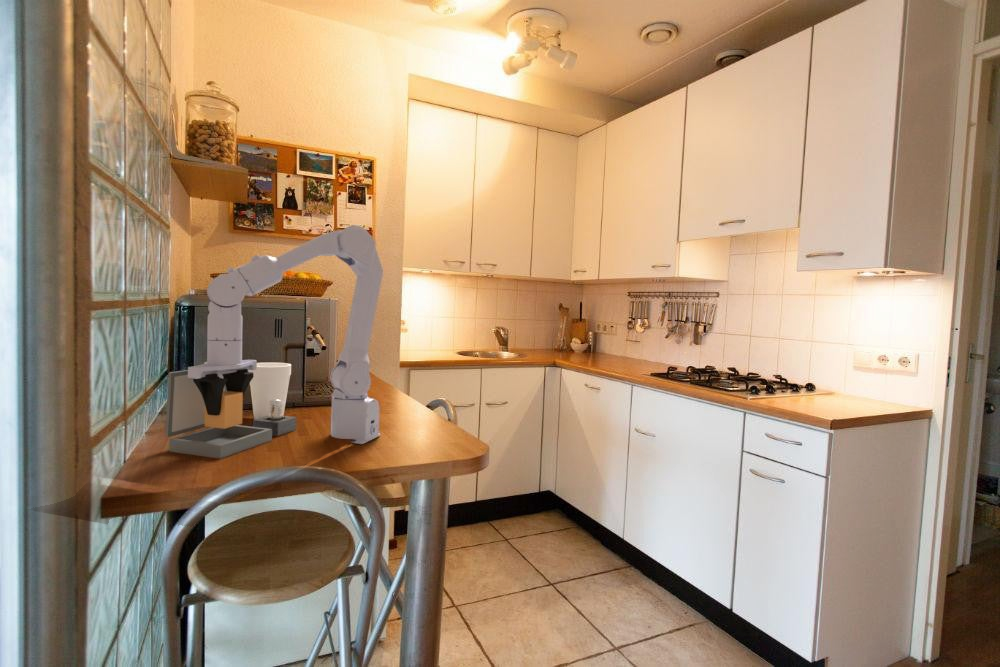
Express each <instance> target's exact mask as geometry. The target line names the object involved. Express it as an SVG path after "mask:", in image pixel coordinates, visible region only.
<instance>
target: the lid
mask: <svg viewBox="0 0 1000 667" xmlns="http://www.w3.org/2000/svg"><path fill="white" fill-rule="evenodd" d="M221 371H225V370H221ZM218 376H219V378H223V375H222V374H220V375H218ZM223 391H227V389H226V384H225V386H224V389H223ZM166 400H167V401H166V411H165V412H166V416H165V430H164V431H165V433H164V434H165V435H164V437H165V438H170V437H171V438H172V437H173V436H177V435H178V436H179V435H182V434H185V433H186V434H187V433H188V432H189V433H190V432H194V431H196V430H200V429H204V428H207V427H206V426H204V424H205V403H204V400H203V397H202V395H201V393H200V391H199V389H198V387H197V386H196V384H195V383H194V382H193V378H188V369H185V370H176V371H170V372H168V379H167V399H166Z"/></svg>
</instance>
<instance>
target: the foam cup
mask: <svg viewBox="0 0 1000 667" xmlns="http://www.w3.org/2000/svg"><path fill="white" fill-rule="evenodd" d="M247 372H253V373H254V375H253V378H252V380H251V381H250V383H249V386H250V394H251V396H250V397H251V402H252V403H251V404H252V413H253V420H255V419H259V418H262V417H266V416H269V411H270V400H271V399H282V416H285V415H284V414H285V408H286V404H287V403H286V402H287V396H288V390H289V384H290V378H291V375H292V364H291V363H287V362H257V369H256V370H247Z"/></svg>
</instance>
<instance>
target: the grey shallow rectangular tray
mask: <svg viewBox="0 0 1000 667" xmlns="http://www.w3.org/2000/svg"><path fill="white" fill-rule="evenodd" d="M168 441H169V442H168V444H169V445H168V452H170V453H177V454H184V455H186V454H187V455H191V456H192V455H193V456H199V457H206V458H212V459H213V458H214V459H221V460H222V459H224V458H226V457H228V456H229V457H230V456H232V455H235V454H237V453H240V452H243V451H246V450H249V449H252V448H254V447H258V446H260V445H263V444H266V443H268V442H272V441H273V436H272V429H267V428H258V427H253V426H250V425H249V426H248V425H242V424H239V425H236V426H232V427H229V428H225V429H223V428H214V427H208V428H205V429H204V428H203V429H201V430H198V431H192V432H191V433H190V432H189V433H186V434H183V435H182V434H181V435H178V436H175V437H173V438H172V437H171V438H168Z"/></svg>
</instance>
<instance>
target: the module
mask: <svg viewBox="0 0 1000 667" xmlns="http://www.w3.org/2000/svg"><path fill="white" fill-rule="evenodd" d="M243 400H244V397H243V392H233V391H227V390H226V391H223V394H222V401H221V411H220V415H217V416H215V415H208V413H207V410H206V406H205V424H204V426H206V427H205V428H207V427H208V428H212V427H214V428H223V429H225V428H229V427H232V426H236V425H242V424H243V409H244V408H243V406H244V405H243V404H244V403H243Z"/></svg>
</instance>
